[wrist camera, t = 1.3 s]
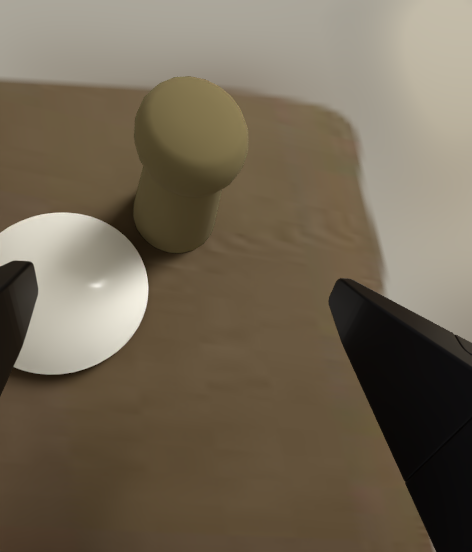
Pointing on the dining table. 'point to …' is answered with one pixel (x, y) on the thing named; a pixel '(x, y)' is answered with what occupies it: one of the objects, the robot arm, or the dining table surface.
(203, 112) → the cork
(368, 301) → the robot arm
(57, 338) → the coaster
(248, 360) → the dining table surface
